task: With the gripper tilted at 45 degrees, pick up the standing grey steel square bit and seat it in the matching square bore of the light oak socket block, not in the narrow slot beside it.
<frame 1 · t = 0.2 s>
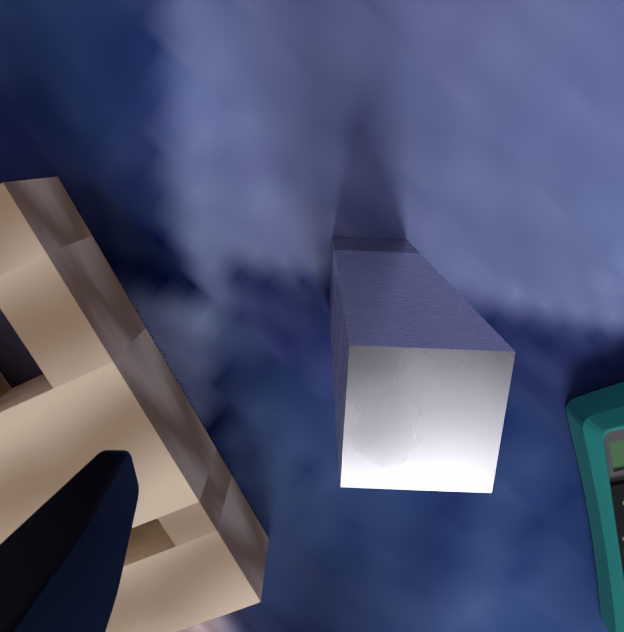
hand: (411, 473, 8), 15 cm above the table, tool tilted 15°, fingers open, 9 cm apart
square bit: (366, 274, 23), on the table
socket block: (83, 416, 25), on the table
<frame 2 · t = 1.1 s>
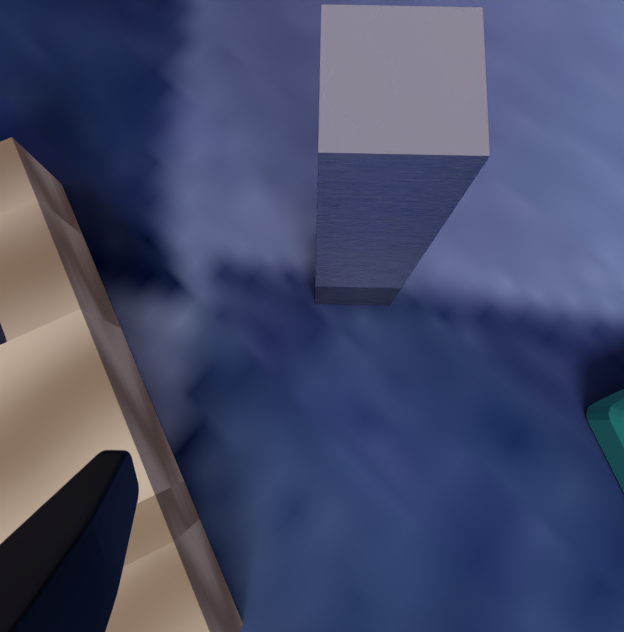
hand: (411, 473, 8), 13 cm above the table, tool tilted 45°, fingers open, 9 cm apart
square bit: (352, 268, 23), on the table
socket block: (31, 439, 21), on the table
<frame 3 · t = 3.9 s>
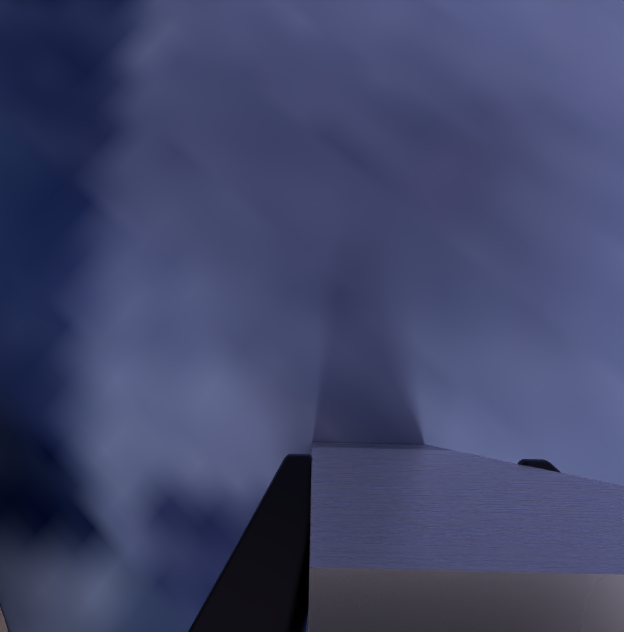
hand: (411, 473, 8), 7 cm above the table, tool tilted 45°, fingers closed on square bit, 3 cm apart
square bit: (368, 502, 15), on the table, touching gripper
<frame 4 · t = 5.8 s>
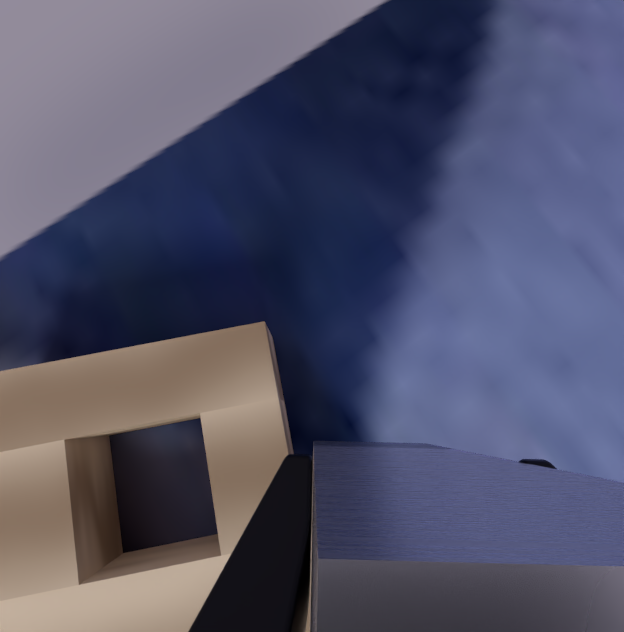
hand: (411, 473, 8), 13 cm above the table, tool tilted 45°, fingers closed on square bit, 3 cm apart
square bit: (369, 501, 15), point 7 cm above the table, touching gripper
socket block: (190, 614, 20), on the table
when the fingers open (9 cm above the table, at t = 7.9 s): square bit drops 3 cm, resting in socket block.
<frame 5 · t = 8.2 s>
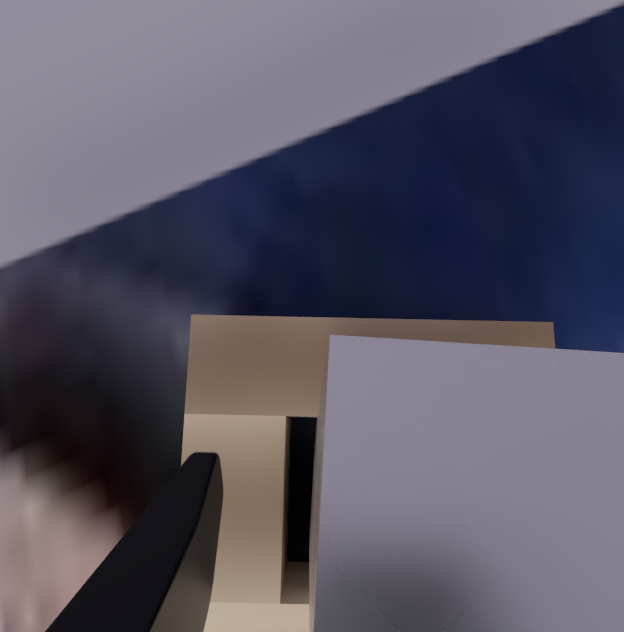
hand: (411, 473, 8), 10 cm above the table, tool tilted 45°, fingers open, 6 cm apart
square bit: (360, 483, 17), resting in socket block, tilted 5°
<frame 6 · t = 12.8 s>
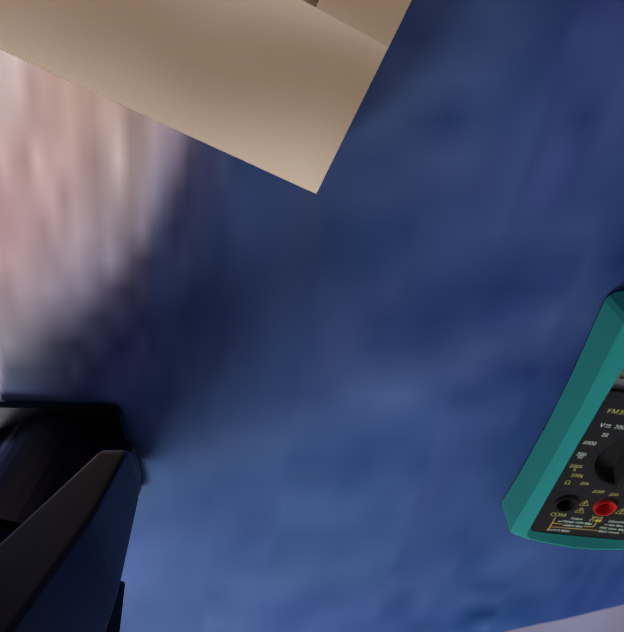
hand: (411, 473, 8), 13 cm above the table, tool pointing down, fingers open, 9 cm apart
digital multimeter: (611, 412, 26), on the table
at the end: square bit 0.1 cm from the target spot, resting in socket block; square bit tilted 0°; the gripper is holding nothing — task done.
